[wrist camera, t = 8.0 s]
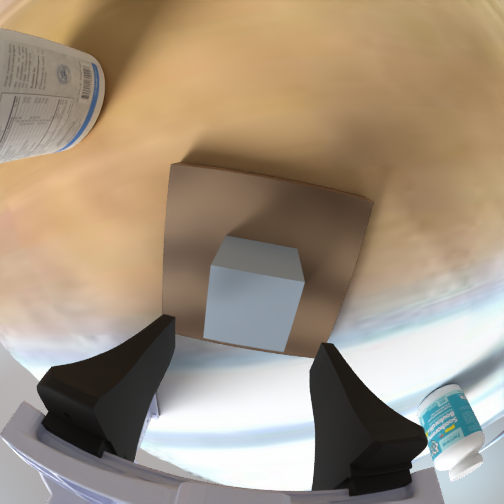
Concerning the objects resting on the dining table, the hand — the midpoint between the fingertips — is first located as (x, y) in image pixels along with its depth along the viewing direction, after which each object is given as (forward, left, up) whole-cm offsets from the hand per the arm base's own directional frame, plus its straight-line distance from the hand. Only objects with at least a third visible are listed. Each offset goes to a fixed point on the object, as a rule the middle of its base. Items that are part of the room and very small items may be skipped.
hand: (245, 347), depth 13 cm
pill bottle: (-16, -29, -10) cm, 35 cm away
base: (0, 0, -10) cm, 10 cm away
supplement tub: (+12, +19, -10) cm, 25 cm away
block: (0, 0, -8) cm, 8 cm away
